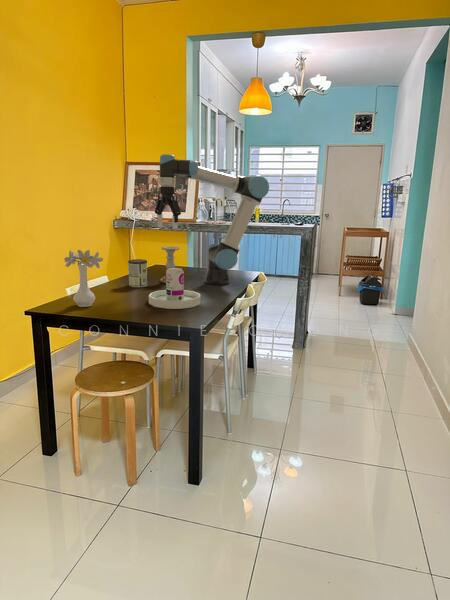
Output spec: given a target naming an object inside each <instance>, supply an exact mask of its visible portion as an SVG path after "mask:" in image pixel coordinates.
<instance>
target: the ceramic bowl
mask: <svg viewBox="0 0 450 600" xmlns="http://www.w3.org/2000/svg"><path fill="white" fill-rule="evenodd" d="M148 304H149V305H150V306H152V307H155V308H161V309H166V310H168V309H177V310H179V309H182V310H183V309H189V308H195V307H197V306H200V305H201V293H199V292H197V291H194V290H188V289H187V290H186V289H184V299H183V300H181V301H170V300H167V299H166V289H163V290H162V289H161V290H160V289H159V290H156V291H153V292H150V293H149V295H148Z"/></svg>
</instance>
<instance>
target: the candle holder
mask: <svg viewBox="0 0 450 600" xmlns="http://www.w3.org/2000/svg"><path fill="white" fill-rule="evenodd" d="M161 250H163V251H165V253H167V256H166V257H165V258H166V264H165V272H166V271H167V269H168V268H176V264H175V256H174V253H175V252H176V251H179V250H180V247H178V246H162V247H161ZM159 282H160V283H163V284H166V275H164V276H162V277H161V278H160V279H159Z"/></svg>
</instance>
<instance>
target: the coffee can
mask: <svg viewBox="0 0 450 600" xmlns="http://www.w3.org/2000/svg"><path fill="white" fill-rule="evenodd" d="M127 262H128V263H127V264H128V286H129V287H130V286H131V287H130V288H144V287H148V260H147V259H141V258H138V259H137V258H135V259H128V260H127Z"/></svg>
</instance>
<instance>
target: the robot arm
mask: <svg viewBox="0 0 450 600" xmlns="http://www.w3.org/2000/svg"><path fill="white" fill-rule="evenodd" d="M175 156H176V155H174V154H170V153H169V154H167V153H166V154H165V153H164V154H163V153H162V154H160V157H159V185H160V186H159V194H160V195H157V200H156V201H157V202H156V205H155V208H154V214H156V215H157V216H156V218H157V219H156V221H157V228H163V225H164V224H163V218H164V217H163V212H164V209H165V208H166V206H168V207H169V209H170V211H171V213H172V230H178V229H179V227H178V226H179V225H178V222H179V216H180V215H182V213H181V212H182V211H181V209H180V205H179V202H178V196H177V195H175V193H176V192H175V185H176V184H175V183H176V181H175V180H176V179H175V178H176V176H178V177H180V178H181V177H182V178H185V179H186V178H187V179H191V180H195V181H196V182H197V181H198V182H202V183H205V184H210V185H212V186H217V187H220V188H224V189H228V190H230V191H232V192H233V193H236V194H238V195H240V197H241V201H240V203H239V205H238V207H237V210H236V212H235V214H234V215H233V216H234V217H233V219H232V221H231V223H230V226H229V227H228V229H227V230H228V231H227V232H226V234H225V237H224V239H223V240H221V241H220V242H219V243H210V244H209V245H208V248H207V254H208V257H207V258H208V261H207V263H208V264H207V271H206V273H205V277H204V283H206V284H209V285H217V286H218V285H219V286H221V285H223V286H224V285H229V284H230V283H231V277H230V273H229V270H232V269H233V268H234V267H235V266H237V263H238V255H239V252H240V247H239V245H240V243H241V241H242V239H243V236H244V233H245V232H246V229H247V228H248V225H249V223H250V221H251V218H252V216H253V215H254V211H255V209H256V207H257V206H259V205H260V204H261V202H262V200H263V199H264V198H265V197H266V195H268V193H269V191H270V184H269V182H268V179H267V178H265V177H264V176H262V175H259V174H255V175H252V176H251V175H250V176H242V175H236V176H235V175H231V174H228V173H225V172H221V171H220V172H219V171H216V170H214V169H209V168H205V167H203V166H199V163H198V161H197V160H192V159H177V158H176V157H175ZM175 175H176V176H175Z"/></svg>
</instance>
